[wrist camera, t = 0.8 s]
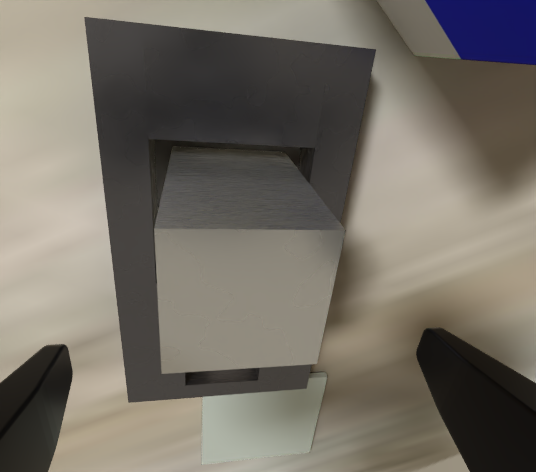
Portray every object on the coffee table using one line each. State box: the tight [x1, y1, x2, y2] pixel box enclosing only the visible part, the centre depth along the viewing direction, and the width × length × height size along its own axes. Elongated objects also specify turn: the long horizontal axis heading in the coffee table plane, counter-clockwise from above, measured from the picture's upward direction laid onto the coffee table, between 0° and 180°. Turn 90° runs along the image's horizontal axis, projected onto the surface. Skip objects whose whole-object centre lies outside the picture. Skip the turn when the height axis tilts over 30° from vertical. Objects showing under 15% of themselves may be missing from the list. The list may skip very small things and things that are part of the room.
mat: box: [201, 372, 327, 465], centre depth 25 cm, size 8×8×1 cm
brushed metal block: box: [154, 146, 345, 374], centre depth 14 cm, size 5×5×8 cm
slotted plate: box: [84, 17, 376, 402], centre depth 18 cm, size 10×18×2 cm, turn 175°
